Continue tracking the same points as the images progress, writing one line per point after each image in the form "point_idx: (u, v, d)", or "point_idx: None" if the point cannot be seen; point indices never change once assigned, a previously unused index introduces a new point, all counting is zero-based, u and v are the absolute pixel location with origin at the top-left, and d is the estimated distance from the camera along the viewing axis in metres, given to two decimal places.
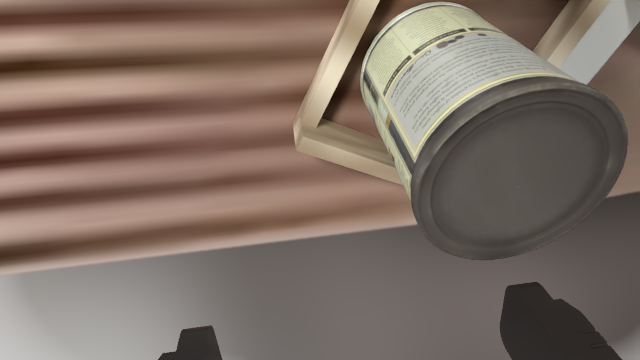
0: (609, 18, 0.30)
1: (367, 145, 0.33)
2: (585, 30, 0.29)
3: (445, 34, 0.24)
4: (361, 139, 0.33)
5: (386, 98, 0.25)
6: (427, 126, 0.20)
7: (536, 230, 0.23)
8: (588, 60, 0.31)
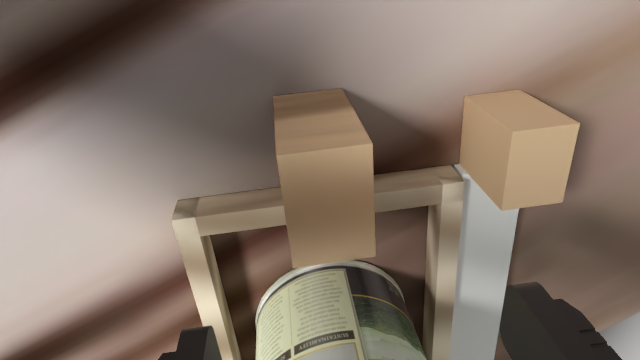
0: (482, 202, 0.24)
1: None
2: (457, 233, 0.24)
3: None
4: None
5: None
6: None
7: None
8: (492, 240, 0.26)
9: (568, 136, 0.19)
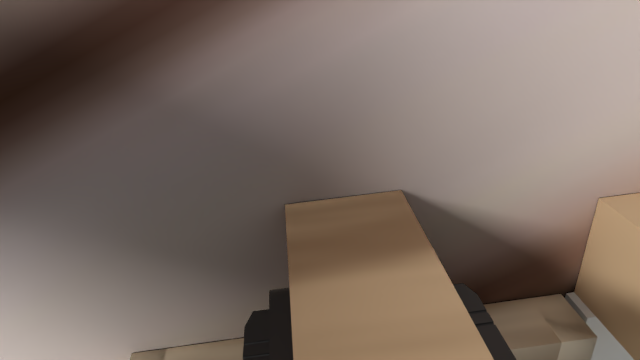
0: (611, 353, 0.16)
1: None
2: None
3: None
4: None
5: None
6: None
7: None
8: None
9: None
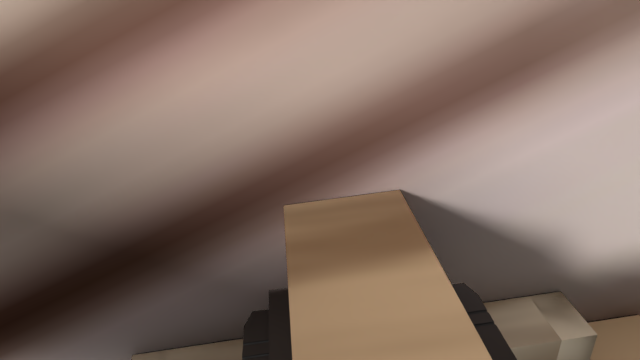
0: None
1: None
2: None
3: None
4: None
5: None
6: None
7: None
8: None
9: None
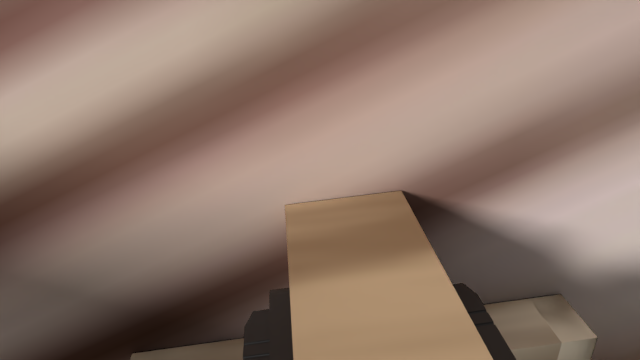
0: None
1: None
2: None
3: None
4: None
5: None
6: None
7: None
8: None
9: None
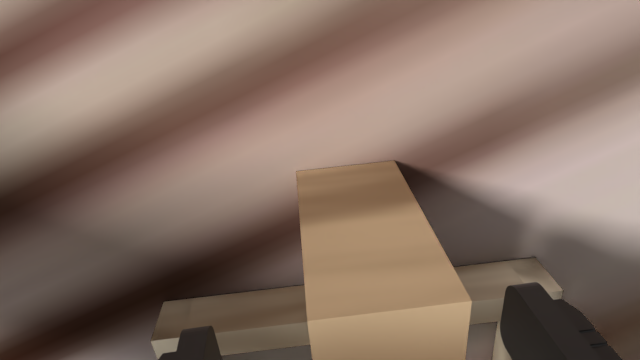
0: None
1: None
2: None
3: None
4: None
5: None
6: None
7: None
8: None
9: None
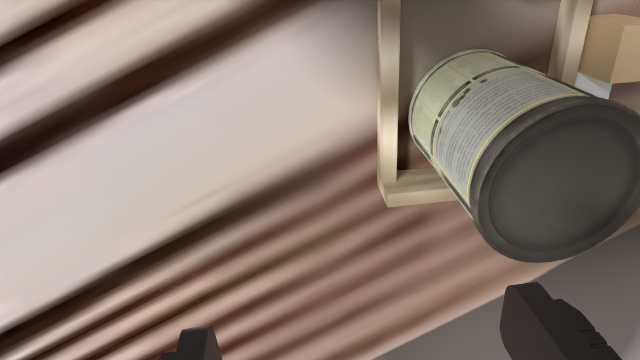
0: None
1: None
2: None
3: (456, 91, 0.29)
4: None
5: (434, 157, 0.31)
6: (466, 177, 0.25)
7: (607, 214, 0.25)
8: None
9: None
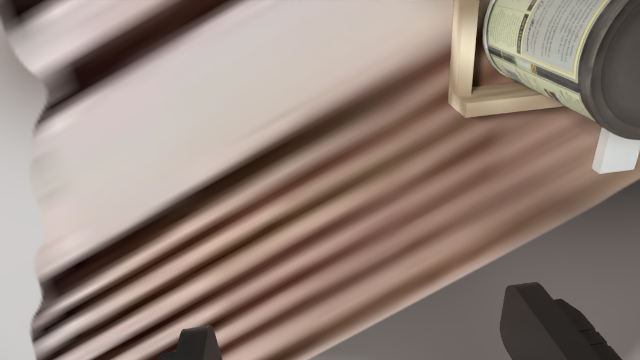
0: None
1: (519, 89, 0.37)
2: None
3: None
4: (511, 87, 0.38)
5: (523, 54, 0.31)
6: (573, 51, 0.25)
7: None
8: None
9: None
